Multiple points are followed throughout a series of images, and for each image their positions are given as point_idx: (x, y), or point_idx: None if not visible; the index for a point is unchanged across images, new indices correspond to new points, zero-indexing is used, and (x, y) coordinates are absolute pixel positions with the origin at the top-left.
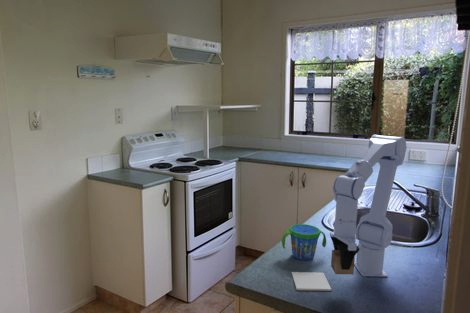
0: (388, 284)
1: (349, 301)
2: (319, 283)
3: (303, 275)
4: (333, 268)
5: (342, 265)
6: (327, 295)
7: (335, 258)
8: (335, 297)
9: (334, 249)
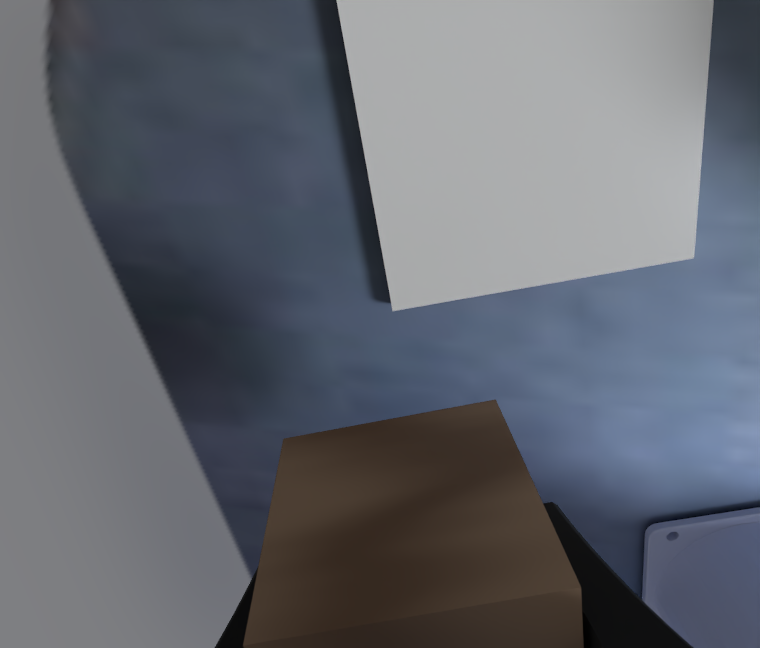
0: None
1: (270, 416)
2: (474, 214)
3: (631, 44)
4: (386, 434)
5: (246, 600)
6: (312, 271)
7: (314, 584)
8: (298, 329)
9: (628, 612)
